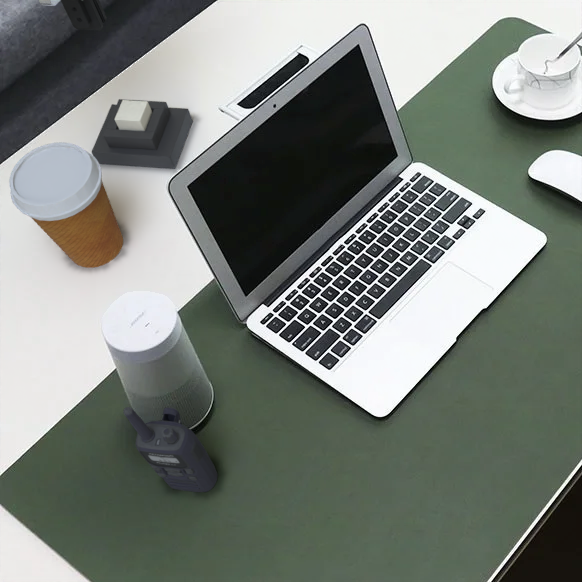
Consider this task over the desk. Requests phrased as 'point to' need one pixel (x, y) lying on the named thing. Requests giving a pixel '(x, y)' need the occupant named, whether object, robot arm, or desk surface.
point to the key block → (144, 138)
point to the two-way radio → (174, 451)
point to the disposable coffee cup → (68, 202)
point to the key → (133, 115)
